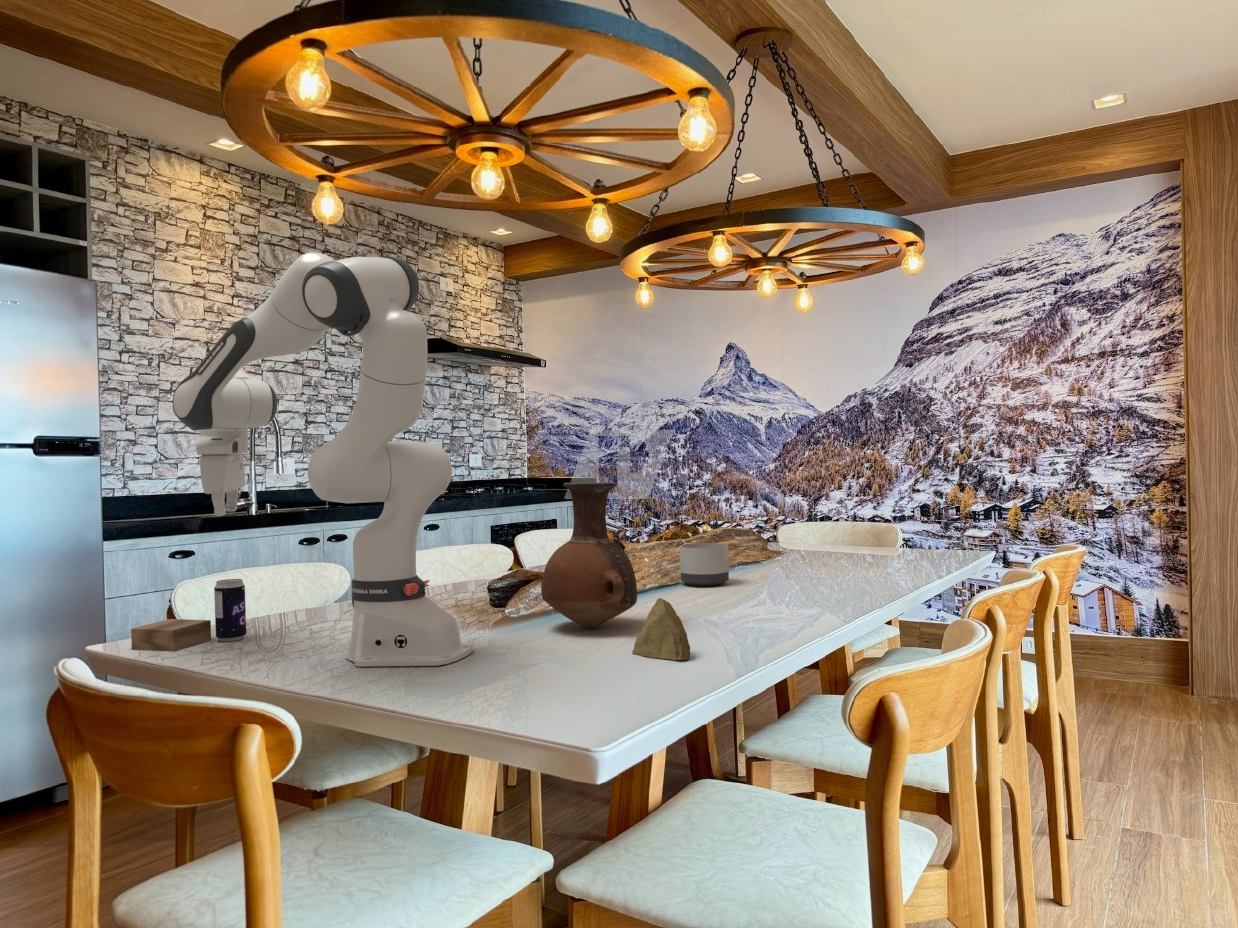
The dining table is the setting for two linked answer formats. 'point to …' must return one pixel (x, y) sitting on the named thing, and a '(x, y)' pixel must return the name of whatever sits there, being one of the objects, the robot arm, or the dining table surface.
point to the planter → (704, 564)
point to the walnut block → (171, 634)
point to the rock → (662, 634)
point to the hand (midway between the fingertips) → (225, 513)
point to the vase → (589, 564)
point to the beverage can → (230, 610)
